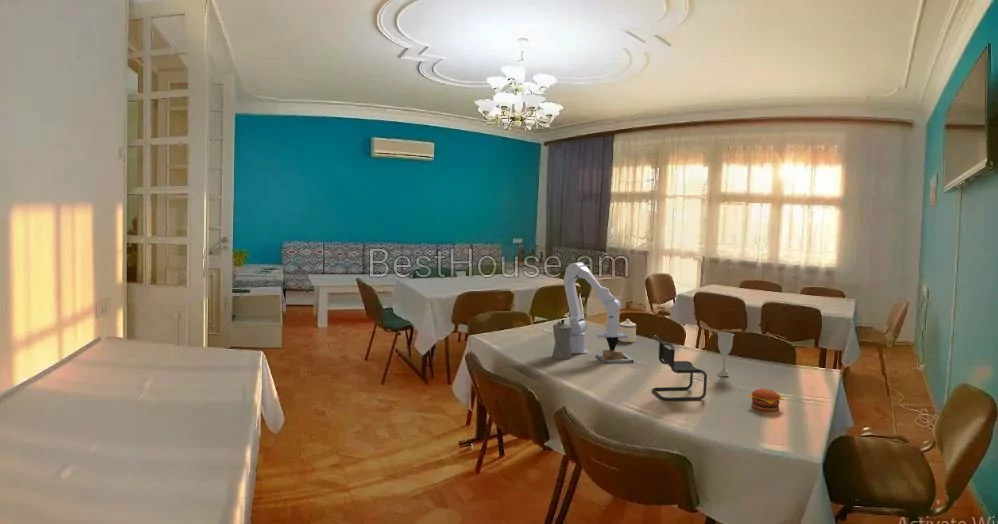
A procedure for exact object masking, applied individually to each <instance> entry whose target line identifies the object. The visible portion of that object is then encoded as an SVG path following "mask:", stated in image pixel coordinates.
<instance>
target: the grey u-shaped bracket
mask: <svg viewBox="0 0 998 524" xmlns="http://www.w3.org/2000/svg"><path fill="white" fill-rule="evenodd" d="M595 356H596V357H597V358H598V359H599V360H600V361H601V362H603V364H627V363H628V364H630V363H631V364H633V363H635V362H634V361H635V360H634V359H633V358H631V357H630V356H629V355H628V354H627V353H625V352H622V359H618V360H606V359H605V358H604V357H603V354H601V353H596V354H595ZM623 358H624V359H623Z"/></svg>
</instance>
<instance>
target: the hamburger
mask: <svg viewBox="0 0 998 524" xmlns="http://www.w3.org/2000/svg"><path fill="white" fill-rule="evenodd" d="M747 398H751V399H752V402H751V407H752V408H754V409H756V410H757V411H762V412H766V413H774V412H778V411H780V406H779V405H780V401H784V400H785V398H783V397H782V396H781V394H779V393H777V392H776V391H774V390H771V389H768V388H757V389H755V390H753V391H752V393H751V394H750V395H749V396H747Z"/></svg>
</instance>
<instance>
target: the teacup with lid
mask: <svg viewBox="0 0 998 524" xmlns="http://www.w3.org/2000/svg"><path fill="white" fill-rule="evenodd" d="M619 333H623V334H628V339H626V338H618V339H619V340H620V342H621V341H622V342H621V343H627V342H631V343H635V342H636V339H637V338H636V336H637V335H636V334H637V324H636V323H634V322H632V321H631V320H630V319H629V318H626V320H625V321H621V322H619Z"/></svg>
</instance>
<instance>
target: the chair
mask: <svg viewBox="0 0 998 524" xmlns="http://www.w3.org/2000/svg"><path fill="white" fill-rule="evenodd" d="M652 339H653V340H655V341H657V342H658V344H659V345H658V360H659V362H660V363H661V364H663V365H667V366H668V367H669V368H670V369H671V371H672V372H674V373H677V374H689V384H688V386H678V387H677V386H676V387H675V386H674V387H673V386H672V387H671V386H670V387H654V388H652V389H651V391H652V393H653V394H654V395H655V396H656V397H658V398H659V399H660V400H663V401H670V402H671V401H672V402H673V401H700V400H704V398H705V397H706V395H707V386H708V385H707V383H708V376H707V375H708V374H707V372H706V371H705V370H703V369H699V368H697V367H695V366H694V365H693V363H692V362H691V361H690V360H689V361H688V360H675V353H676V352H675V346H674V345H673V344H672V343H671V342H665V341H664V340H663V339H662V338H661V336H659V335H652ZM668 347H670V348H668ZM694 374H703V390H702V394H701V395H700V396H687V397H686V396H685V397H684V396H683V397H682V396H680V397H666V396H662V395H661V394H659V393H658V392H657V391H687V390H690V389H691V388H692V386H693V380H694Z"/></svg>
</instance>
